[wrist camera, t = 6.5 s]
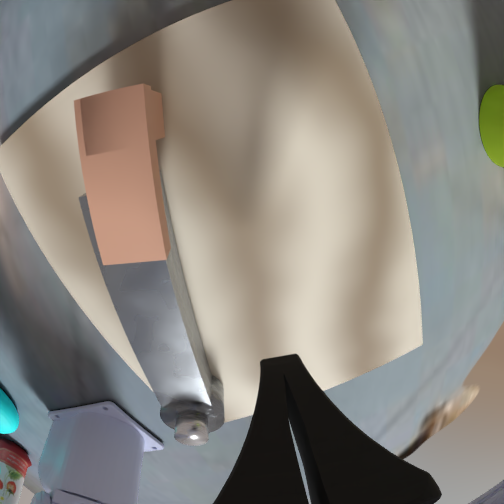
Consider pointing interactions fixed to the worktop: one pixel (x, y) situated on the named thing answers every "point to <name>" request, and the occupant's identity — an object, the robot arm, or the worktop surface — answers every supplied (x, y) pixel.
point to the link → (165, 337)
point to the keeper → (124, 172)
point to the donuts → (7, 414)
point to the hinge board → (248, 193)
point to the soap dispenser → (493, 123)
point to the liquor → (12, 471)
